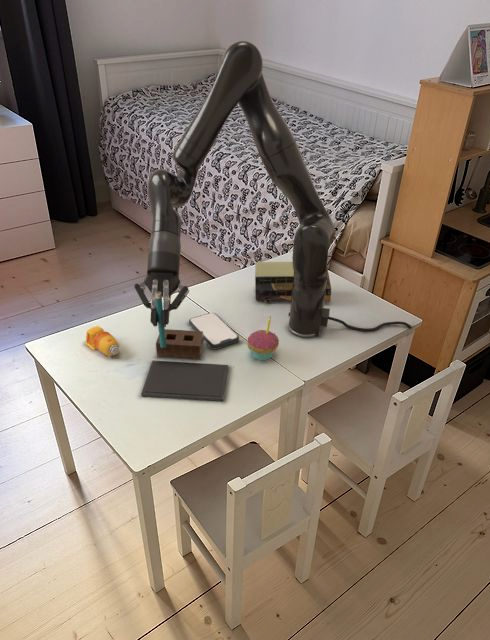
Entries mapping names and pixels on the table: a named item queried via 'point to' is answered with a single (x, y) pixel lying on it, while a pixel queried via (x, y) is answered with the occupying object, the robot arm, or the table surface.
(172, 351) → the pen stand
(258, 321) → the table surface
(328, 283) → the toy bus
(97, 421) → the table surface
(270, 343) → the cupcake
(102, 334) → the toy figure
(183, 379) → the tablet
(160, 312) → the stylus
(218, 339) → the smartphone
